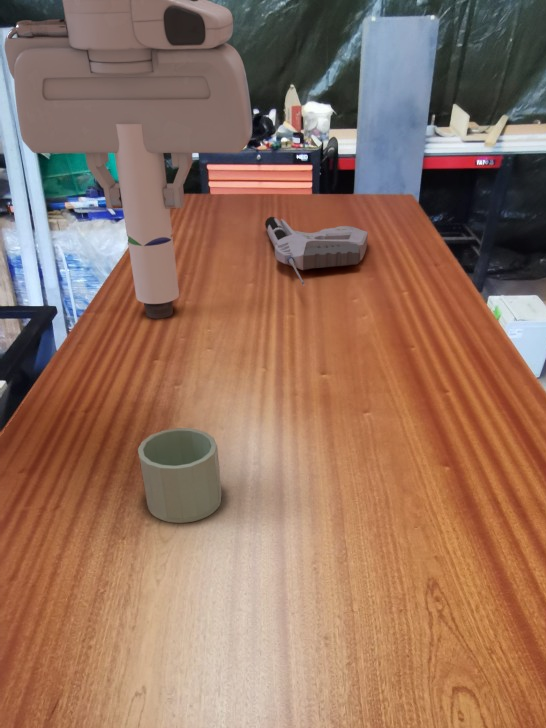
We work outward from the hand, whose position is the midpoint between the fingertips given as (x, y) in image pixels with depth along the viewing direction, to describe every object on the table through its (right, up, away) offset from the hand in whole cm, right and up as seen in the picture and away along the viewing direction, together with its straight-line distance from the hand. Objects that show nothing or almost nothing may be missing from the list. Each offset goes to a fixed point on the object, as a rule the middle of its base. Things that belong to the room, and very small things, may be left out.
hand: (146, 207), depth 68 cm
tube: (0, -6, +6) cm, 8 cm away
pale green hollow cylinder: (+2, -25, +15) cm, 30 cm away
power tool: (+22, +29, +76) cm, 84 cm away
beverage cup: (-8, +12, +58) cm, 60 cm away
